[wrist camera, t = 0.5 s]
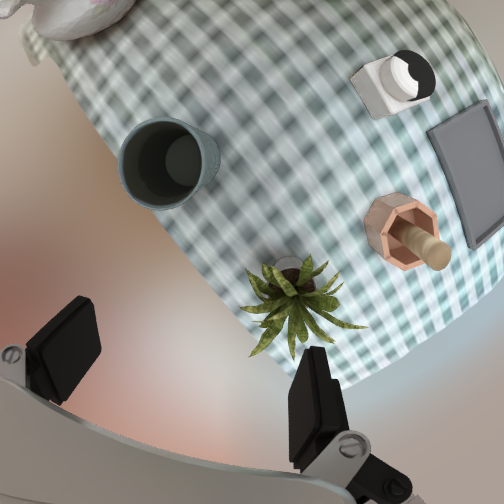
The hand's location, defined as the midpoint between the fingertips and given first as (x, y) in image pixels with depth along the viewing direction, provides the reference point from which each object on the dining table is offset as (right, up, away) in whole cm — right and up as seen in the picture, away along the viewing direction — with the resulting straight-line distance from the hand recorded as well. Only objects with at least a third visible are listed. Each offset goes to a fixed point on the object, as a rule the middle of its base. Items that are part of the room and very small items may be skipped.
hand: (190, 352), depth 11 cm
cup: (+24, +8, +28) cm, 37 cm away
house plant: (+9, +2, +31) cm, 33 cm away
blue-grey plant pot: (-6, +17, +27) cm, 33 cm away
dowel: (+24, +8, +27) cm, 37 cm away
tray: (+42, +18, +23) cm, 51 cm away
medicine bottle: (+21, +27, +21) cm, 41 cm away
